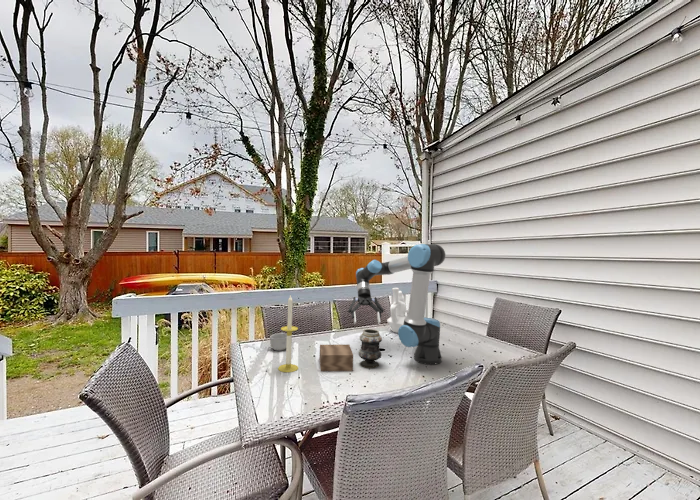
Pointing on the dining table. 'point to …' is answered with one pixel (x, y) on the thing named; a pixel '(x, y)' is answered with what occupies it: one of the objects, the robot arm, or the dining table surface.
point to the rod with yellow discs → (289, 341)
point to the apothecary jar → (370, 348)
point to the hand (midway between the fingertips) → (367, 323)
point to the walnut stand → (336, 358)
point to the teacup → (278, 341)
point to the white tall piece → (397, 310)
